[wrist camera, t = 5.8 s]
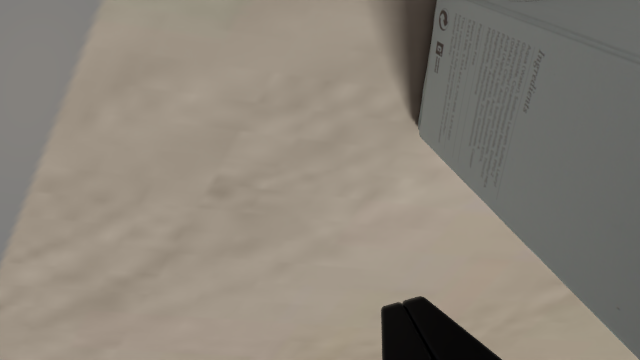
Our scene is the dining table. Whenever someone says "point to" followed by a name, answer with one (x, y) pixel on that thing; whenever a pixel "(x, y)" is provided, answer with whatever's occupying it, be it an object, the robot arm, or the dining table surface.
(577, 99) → the skincare box
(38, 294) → the dining table surface
